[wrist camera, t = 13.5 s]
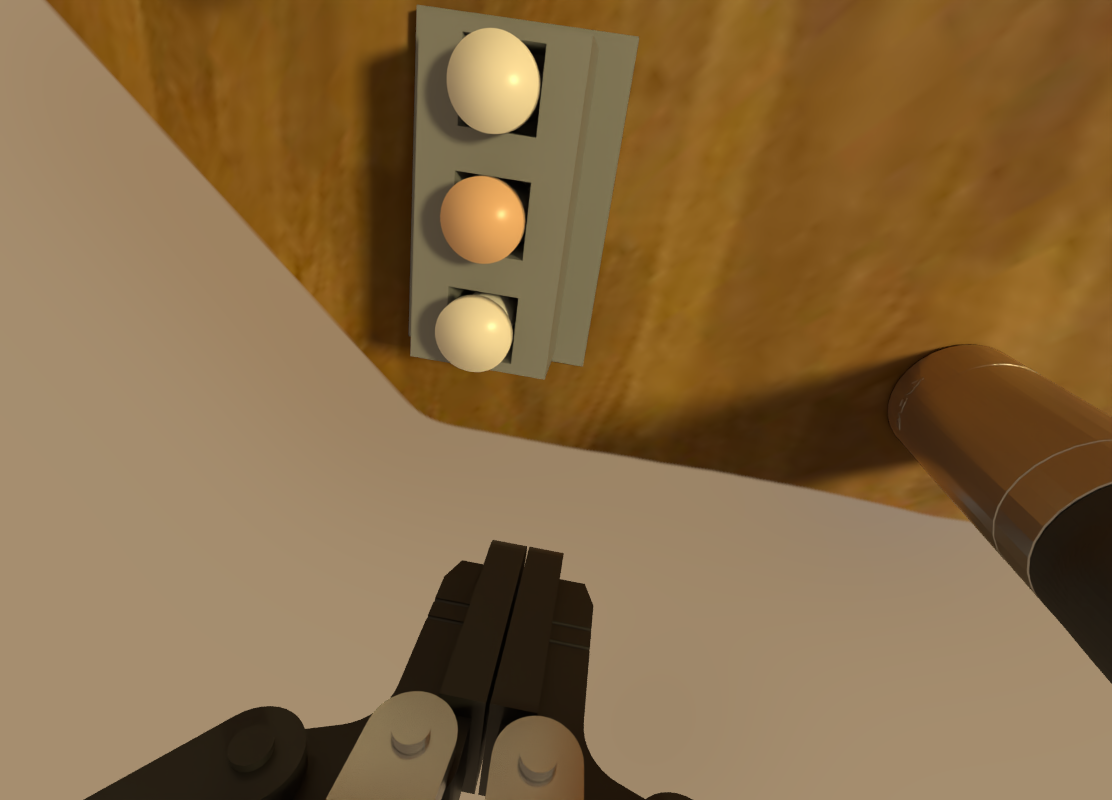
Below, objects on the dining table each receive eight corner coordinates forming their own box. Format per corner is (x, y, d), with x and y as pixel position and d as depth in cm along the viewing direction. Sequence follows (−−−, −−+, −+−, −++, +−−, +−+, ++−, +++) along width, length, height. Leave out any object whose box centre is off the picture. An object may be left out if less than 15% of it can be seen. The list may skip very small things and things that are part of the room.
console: (638, 39, 35) (640, 18, 29) (583, 361, 45) (575, 398, 39) (422, 8, 36) (377, -20, 30) (413, 332, 46) (378, 363, 39)
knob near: (561, 55, 35) (543, 35, 28) (550, 139, 37) (531, 140, 30) (486, 44, 35) (449, 21, 28) (480, 128, 38) (444, 126, 30)
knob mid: (546, 175, 38) (526, 183, 31) (537, 246, 40) (517, 269, 33) (477, 164, 38) (442, 170, 31) (472, 235, 41) (438, 256, 33)
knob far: (534, 276, 41) (513, 306, 34) (526, 337, 43) (505, 378, 36) (470, 265, 42) (436, 292, 34) (465, 327, 44) (433, 365, 36)
